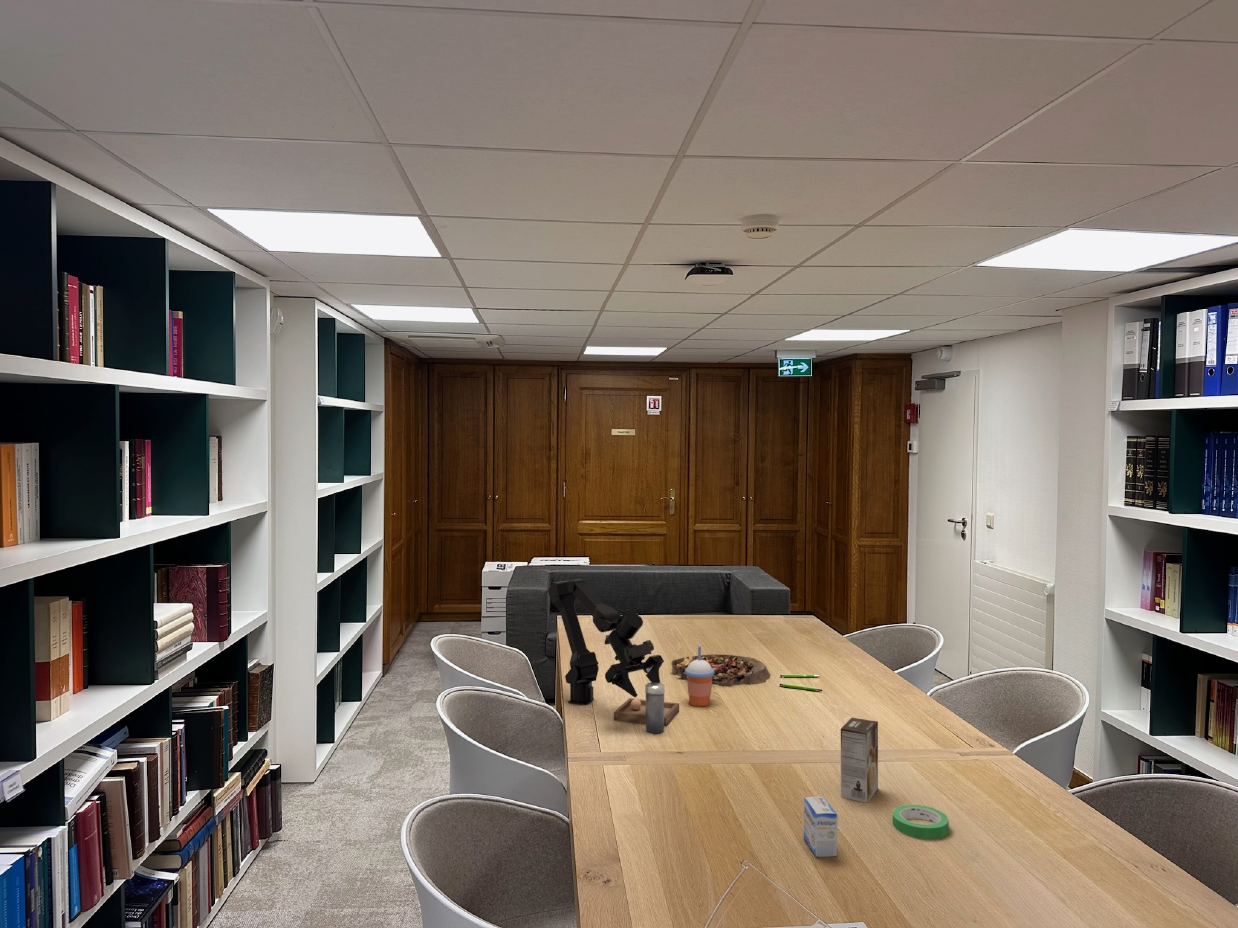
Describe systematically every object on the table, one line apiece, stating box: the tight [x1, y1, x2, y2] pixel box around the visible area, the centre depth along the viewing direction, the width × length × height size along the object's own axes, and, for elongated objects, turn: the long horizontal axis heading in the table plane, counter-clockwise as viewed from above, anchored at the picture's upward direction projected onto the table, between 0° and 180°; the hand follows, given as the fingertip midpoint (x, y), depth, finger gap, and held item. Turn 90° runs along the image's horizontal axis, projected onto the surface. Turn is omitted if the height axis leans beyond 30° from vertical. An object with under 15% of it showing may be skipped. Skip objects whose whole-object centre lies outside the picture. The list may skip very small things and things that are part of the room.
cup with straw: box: [685, 645, 714, 707], centre depth 253 cm, size 9×9×18 cm
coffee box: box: [840, 717, 879, 804], centre depth 187 cm, size 9×6×16 cm
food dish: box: [670, 653, 772, 687], centre depth 287 cm, size 35×33×8 cm
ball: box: [631, 698, 641, 710], centre depth 245 cm, size 3×3×3 cm
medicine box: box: [803, 796, 838, 858], centre depth 162 cm, size 8×4×9 cm, turn 5°
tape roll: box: [892, 804, 950, 840], centre depth 171 cm, size 11×11×3 cm
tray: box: [613, 697, 680, 727], centre depth 242 cm, size 16×14×2 cm
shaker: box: [644, 682, 665, 735], centre depth 229 cm, size 5×5×13 cm
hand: (648, 693), depth 231 cm, fingers open, 9 cm apart
